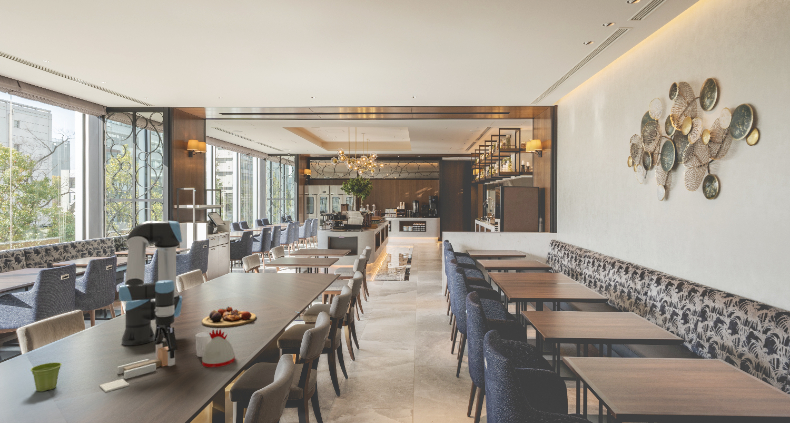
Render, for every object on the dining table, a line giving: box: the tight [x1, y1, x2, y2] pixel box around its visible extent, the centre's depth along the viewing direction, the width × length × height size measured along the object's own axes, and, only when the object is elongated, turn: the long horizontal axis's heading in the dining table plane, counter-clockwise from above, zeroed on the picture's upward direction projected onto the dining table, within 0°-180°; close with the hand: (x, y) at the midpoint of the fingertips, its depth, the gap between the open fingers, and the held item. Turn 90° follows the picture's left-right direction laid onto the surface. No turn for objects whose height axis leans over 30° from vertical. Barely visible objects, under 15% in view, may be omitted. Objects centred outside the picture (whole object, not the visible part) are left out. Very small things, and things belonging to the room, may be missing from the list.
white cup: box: [195, 331, 212, 358], centre depth 203 cm, size 8×8×10 cm
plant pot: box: [30, 361, 63, 392], centre depth 165 cm, size 9×9×9 cm
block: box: [158, 346, 169, 367], centre depth 191 cm, size 5×5×7 cm
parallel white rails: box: [117, 358, 157, 380], centre depth 181 cm, size 9×12×3 cm
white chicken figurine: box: [201, 328, 236, 368], centre depth 194 cm, size 14×14×15 cm
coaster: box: [99, 378, 130, 393], centre depth 167 cm, size 8×8×1 cm
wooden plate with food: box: [201, 306, 257, 329], centre depth 264 cm, size 32×32×8 cm
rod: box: [124, 358, 162, 371], centre depth 184 cm, size 3×14×3 cm, turn 141°
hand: (165, 361), depth 190 cm, fingers open, 13 cm apart
